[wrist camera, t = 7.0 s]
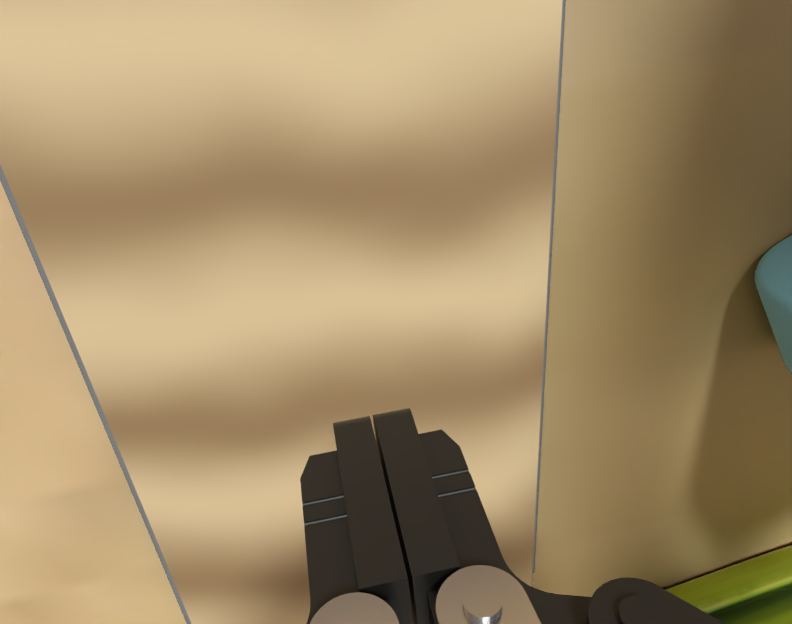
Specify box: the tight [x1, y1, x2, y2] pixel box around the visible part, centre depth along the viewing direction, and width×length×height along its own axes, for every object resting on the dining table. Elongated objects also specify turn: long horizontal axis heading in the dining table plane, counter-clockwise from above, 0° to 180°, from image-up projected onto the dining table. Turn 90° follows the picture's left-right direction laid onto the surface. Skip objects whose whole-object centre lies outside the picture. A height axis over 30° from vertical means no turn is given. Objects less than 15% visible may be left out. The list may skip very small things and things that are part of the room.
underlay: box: [0, 0, 566, 624], centre depth 17 cm, size 35×14×1 cm, turn 5°
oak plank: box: [0, 0, 563, 624], centre depth 19 cm, size 22×12×2 cm, turn 5°
